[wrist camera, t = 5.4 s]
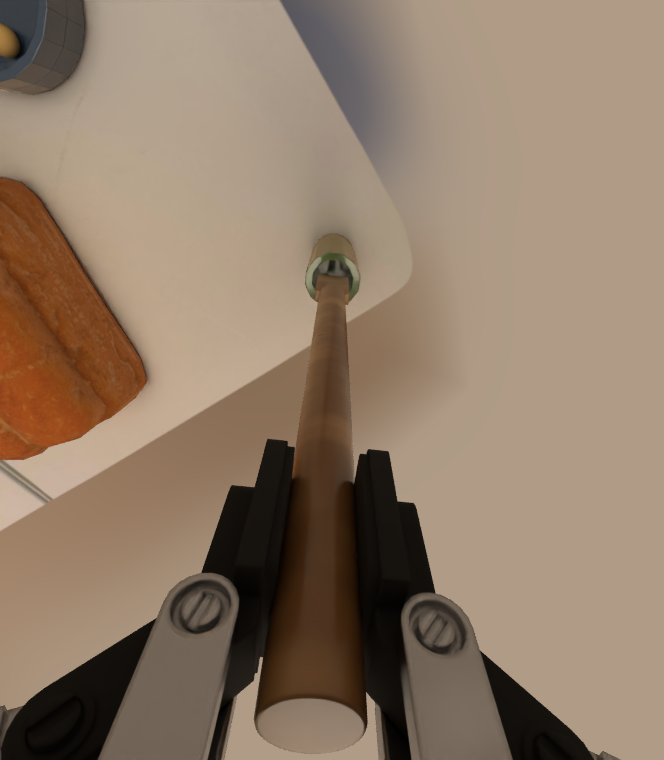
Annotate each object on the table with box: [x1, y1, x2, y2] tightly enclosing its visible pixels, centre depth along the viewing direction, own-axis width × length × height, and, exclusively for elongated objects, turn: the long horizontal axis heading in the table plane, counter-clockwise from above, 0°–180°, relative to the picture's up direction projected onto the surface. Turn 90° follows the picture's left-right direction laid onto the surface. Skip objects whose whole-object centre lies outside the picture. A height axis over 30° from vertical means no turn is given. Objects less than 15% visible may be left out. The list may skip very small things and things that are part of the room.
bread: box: [0, 177, 147, 460], centre depth 43 cm, size 14×27×15 cm, turn 21°
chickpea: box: [0, 23, 20, 58], centre depth 37 cm, size 2×2×2 cm
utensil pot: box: [305, 234, 360, 302], centre depth 41 cm, size 5×5×12 cm
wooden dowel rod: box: [254, 274, 367, 754], centre depth 20 cm, size 2×2×30 cm
